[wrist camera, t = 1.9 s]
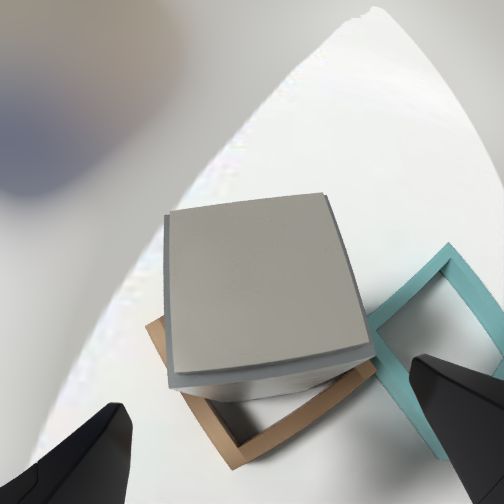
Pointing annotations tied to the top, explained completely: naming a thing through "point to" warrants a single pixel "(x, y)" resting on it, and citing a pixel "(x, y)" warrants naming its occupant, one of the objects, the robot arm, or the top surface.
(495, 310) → the teal bin
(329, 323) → the tin
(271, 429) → the walnut bin
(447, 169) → the top surface
